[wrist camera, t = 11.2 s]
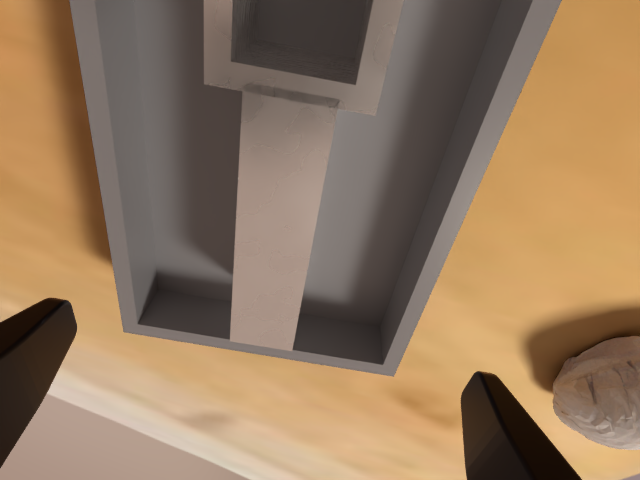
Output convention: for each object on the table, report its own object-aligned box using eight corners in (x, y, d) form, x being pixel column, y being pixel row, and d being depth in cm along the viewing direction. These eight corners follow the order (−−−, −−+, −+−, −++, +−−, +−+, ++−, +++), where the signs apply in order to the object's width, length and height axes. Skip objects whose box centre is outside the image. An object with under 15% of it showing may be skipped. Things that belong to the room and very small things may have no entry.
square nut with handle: (321, 297, 23) (316, 355, 19) (226, 282, 22) (204, 337, 19) (410, -91, 13) (430, -107, 10) (242, -125, 13) (203, -155, 9)
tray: (388, 328, 25) (393, 376, 22) (150, 287, 24) (123, 332, 21) (574, -147, 12) (641, -179, 10) (97, -255, 12) (16, -325, 9)
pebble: (624, 299, 23) (684, 375, 18) (721, 350, 24) (796, 430, 20) (514, 380, 27) (543, 455, 23) (602, 418, 29) (644, 494, 25)
